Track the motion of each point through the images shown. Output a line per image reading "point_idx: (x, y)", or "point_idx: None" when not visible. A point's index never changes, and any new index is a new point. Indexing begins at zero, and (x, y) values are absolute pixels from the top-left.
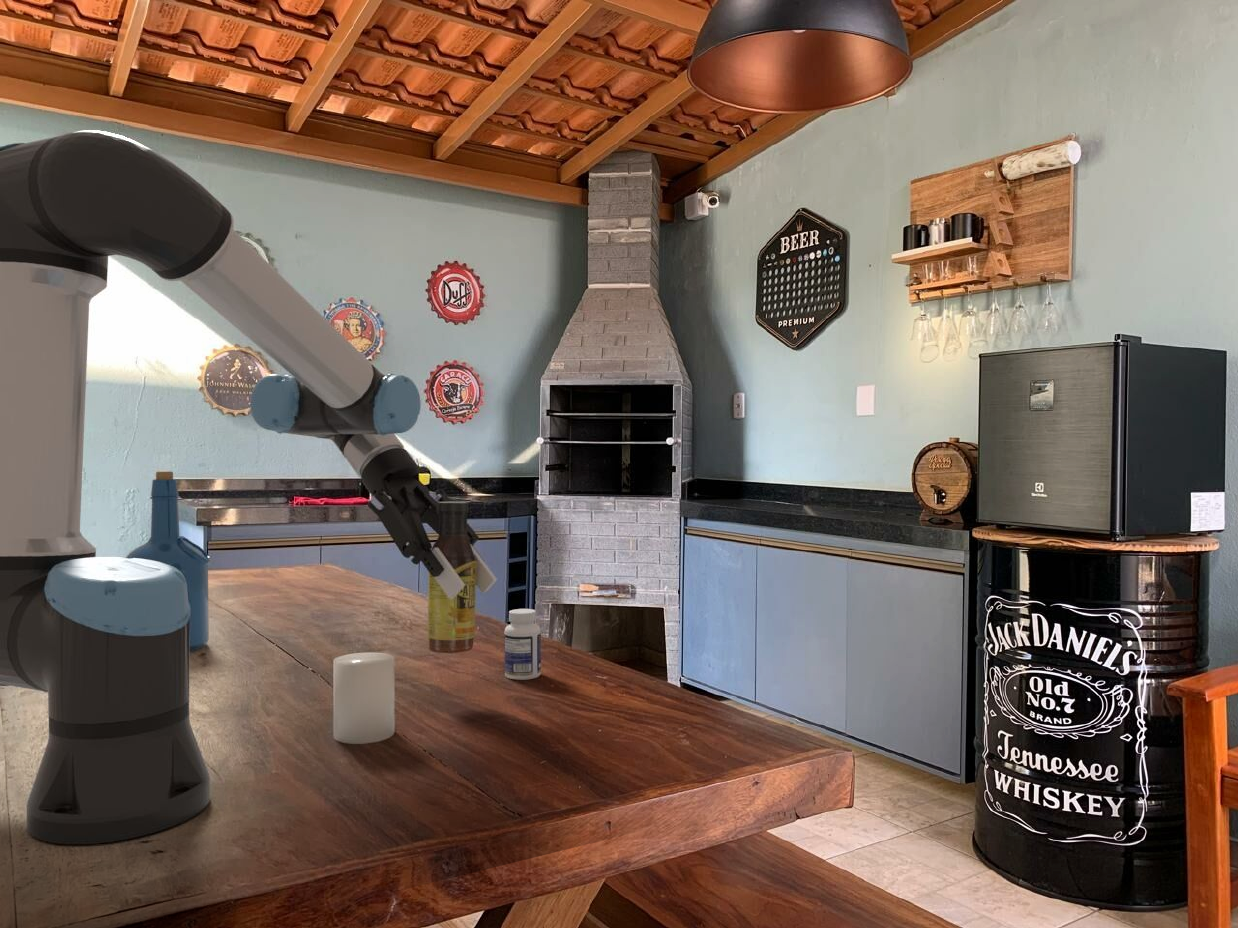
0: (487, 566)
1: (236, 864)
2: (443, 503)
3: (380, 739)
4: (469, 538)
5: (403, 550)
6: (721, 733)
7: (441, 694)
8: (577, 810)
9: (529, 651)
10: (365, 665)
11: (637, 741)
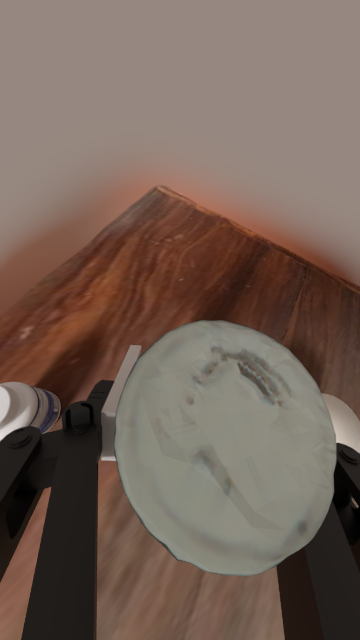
0: (124, 361)
1: None
2: (331, 425)
3: None
4: (77, 429)
5: (350, 502)
6: (155, 225)
7: None
8: (286, 251)
9: (41, 390)
10: (344, 406)
11: (190, 256)
